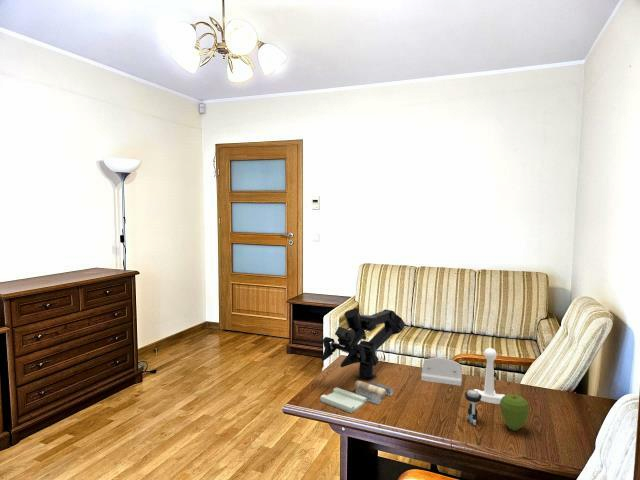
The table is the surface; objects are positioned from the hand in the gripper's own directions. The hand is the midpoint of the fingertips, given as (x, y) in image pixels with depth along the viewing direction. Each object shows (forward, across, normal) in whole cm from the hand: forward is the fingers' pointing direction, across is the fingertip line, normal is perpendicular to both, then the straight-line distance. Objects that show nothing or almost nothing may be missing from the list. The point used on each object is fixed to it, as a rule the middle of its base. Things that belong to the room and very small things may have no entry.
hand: (331, 363), depth 157 cm
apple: (-14, +60, +20) cm, 65 cm away
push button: (-10, +49, +18) cm, 53 cm away
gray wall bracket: (-33, +26, +30) cm, 52 cm away
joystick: (-29, +47, +27) cm, 62 cm away
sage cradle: (+6, +7, +11) cm, 15 cm away
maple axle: (-5, +11, +17) cm, 20 cm away
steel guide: (-5, +13, +16) cm, 21 cm away
